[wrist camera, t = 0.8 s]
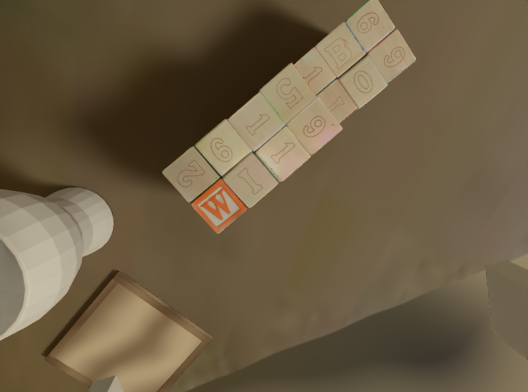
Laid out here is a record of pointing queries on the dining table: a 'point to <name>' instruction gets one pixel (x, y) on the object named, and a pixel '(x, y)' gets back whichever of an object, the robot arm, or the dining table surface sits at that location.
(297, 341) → the dining table surface
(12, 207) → the cup
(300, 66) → the stack of blocks
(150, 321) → the picture frame
